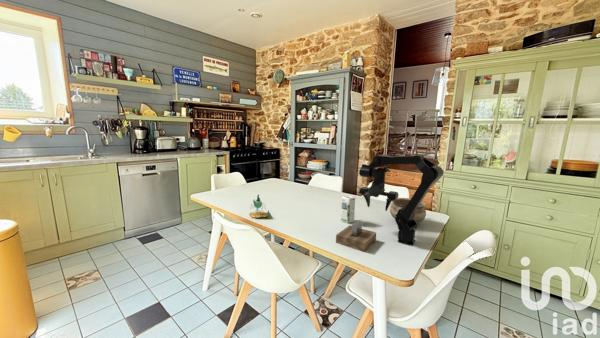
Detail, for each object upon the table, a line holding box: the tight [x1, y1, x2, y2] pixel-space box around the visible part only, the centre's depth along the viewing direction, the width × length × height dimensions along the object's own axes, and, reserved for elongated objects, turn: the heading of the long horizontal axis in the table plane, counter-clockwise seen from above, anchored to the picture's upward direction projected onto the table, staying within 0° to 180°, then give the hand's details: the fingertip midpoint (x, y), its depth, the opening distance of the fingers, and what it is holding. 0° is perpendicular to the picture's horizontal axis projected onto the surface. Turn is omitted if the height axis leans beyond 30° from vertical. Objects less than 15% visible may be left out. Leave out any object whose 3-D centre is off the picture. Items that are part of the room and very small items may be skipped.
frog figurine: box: [248, 194, 273, 219], centre depth 145 cm, size 10×18×15 cm, turn 53°
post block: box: [335, 225, 377, 253], centre depth 114 cm, size 14×14×4 cm
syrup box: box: [340, 195, 356, 224], centre depth 138 cm, size 6×6×14 cm
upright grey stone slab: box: [351, 220, 363, 237], centre depth 113 cm, size 2×6×8 cm, turn 143°
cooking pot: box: [389, 197, 427, 224], centre depth 137 cm, size 25×19×12 cm
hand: (377, 208), depth 125 cm, fingers open, 9 cm apart
